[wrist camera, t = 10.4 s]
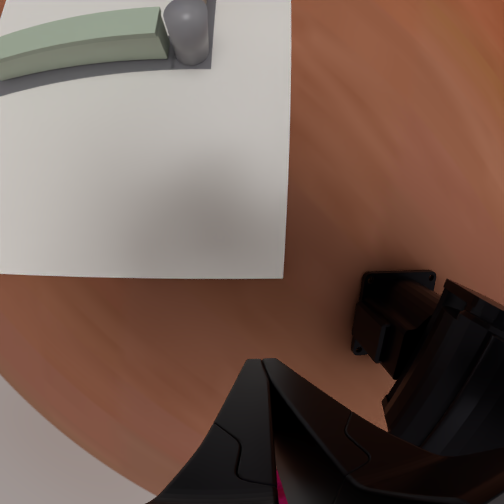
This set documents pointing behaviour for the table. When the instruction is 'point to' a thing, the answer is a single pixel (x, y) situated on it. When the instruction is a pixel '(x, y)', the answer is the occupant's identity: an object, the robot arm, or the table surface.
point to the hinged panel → (85, 41)
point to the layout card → (151, 149)
